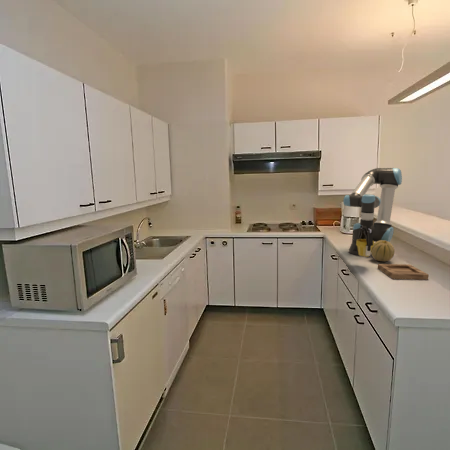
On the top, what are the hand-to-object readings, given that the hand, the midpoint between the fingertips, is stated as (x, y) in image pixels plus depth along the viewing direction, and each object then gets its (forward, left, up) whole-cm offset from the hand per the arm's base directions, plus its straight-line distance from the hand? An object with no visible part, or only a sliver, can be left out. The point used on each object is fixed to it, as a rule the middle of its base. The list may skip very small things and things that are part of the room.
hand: (364, 253), depth 206 cm
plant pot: (0, 0, -2) cm, 2 cm away
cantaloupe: (-14, +18, -9) cm, 24 cm away
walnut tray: (+13, +18, -9) cm, 24 cm away
